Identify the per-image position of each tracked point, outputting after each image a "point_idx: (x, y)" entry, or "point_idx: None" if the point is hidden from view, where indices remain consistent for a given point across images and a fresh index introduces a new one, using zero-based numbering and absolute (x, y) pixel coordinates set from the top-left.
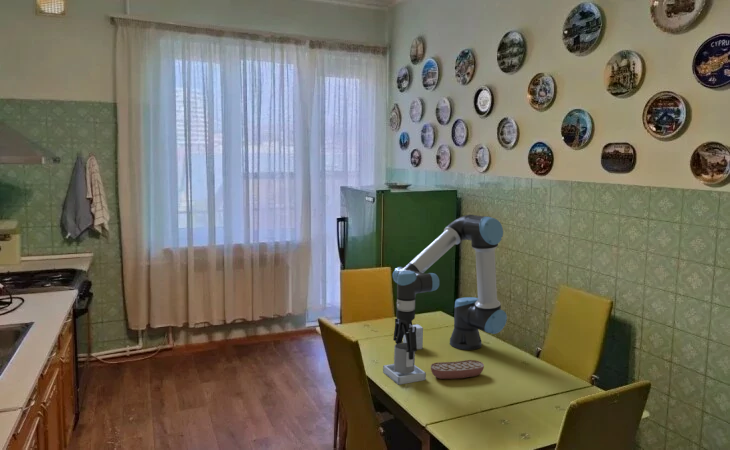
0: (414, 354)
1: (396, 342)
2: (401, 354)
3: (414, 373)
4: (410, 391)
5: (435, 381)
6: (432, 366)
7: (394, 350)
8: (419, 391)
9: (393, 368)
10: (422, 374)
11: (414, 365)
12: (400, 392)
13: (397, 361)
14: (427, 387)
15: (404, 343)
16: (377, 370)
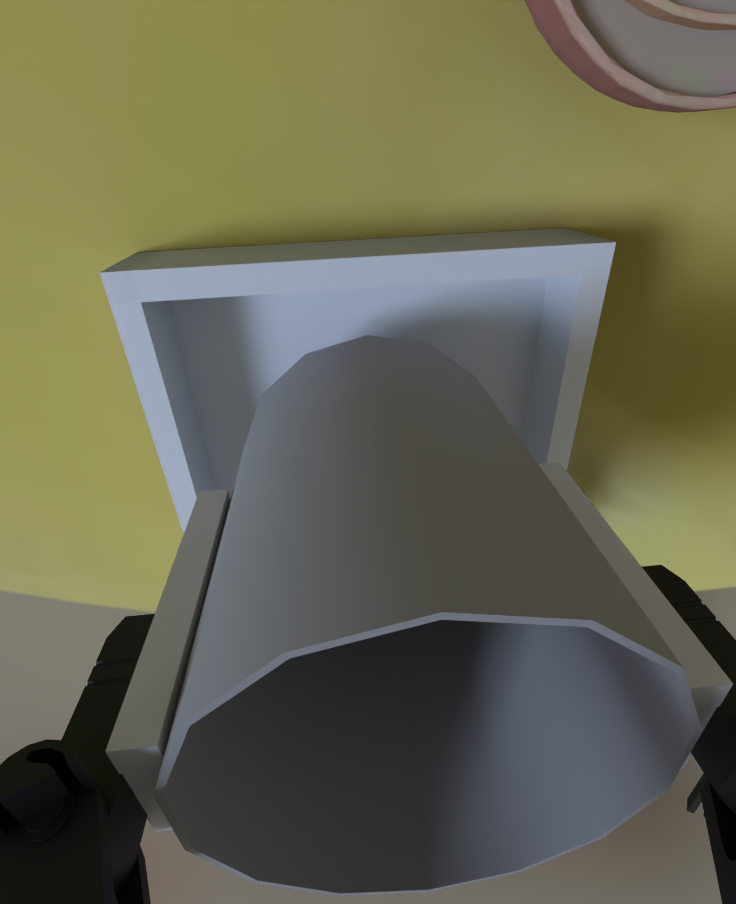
0: (551, 503)
1: (136, 875)
2: (530, 738)
3: (392, 306)
4: (677, 487)
5: (677, 112)
6: (604, 21)
7: (338, 789)
8: (731, 422)
9: (212, 489)
10: (595, 297)
11: (296, 276)
12: (639, 554)
13: (435, 645)
14: (726, 310)
15: (180, 742)
16: (162, 578)
